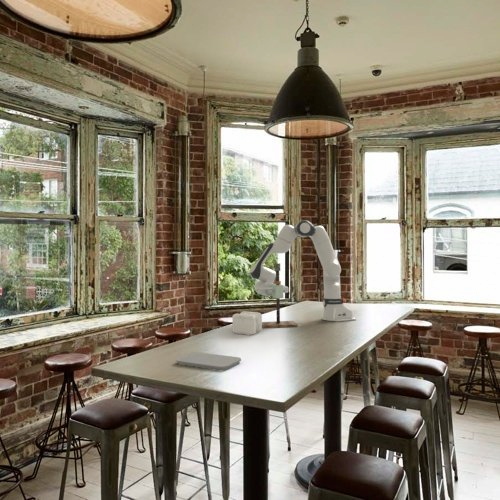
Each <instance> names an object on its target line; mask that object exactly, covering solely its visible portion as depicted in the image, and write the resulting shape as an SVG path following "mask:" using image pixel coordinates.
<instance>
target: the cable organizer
mask: <svg viewBox="0 0 500 500" xmlns="http://www.w3.org/2000/svg"><path fill="white" fill-rule="evenodd" d="M262 316H263V315H262V313H260V312H257V311H256V312H255V311H247V310H243V311H241V312H240V313H234V314H232V320H231V321H232V332H233V333H234V334H235V333H236V335H237V334H238V335H242V334H244V335H247V336H252V335H255V334H256V333H259V332H262V330H263V328H262V322H263V317H262Z"/></svg>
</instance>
